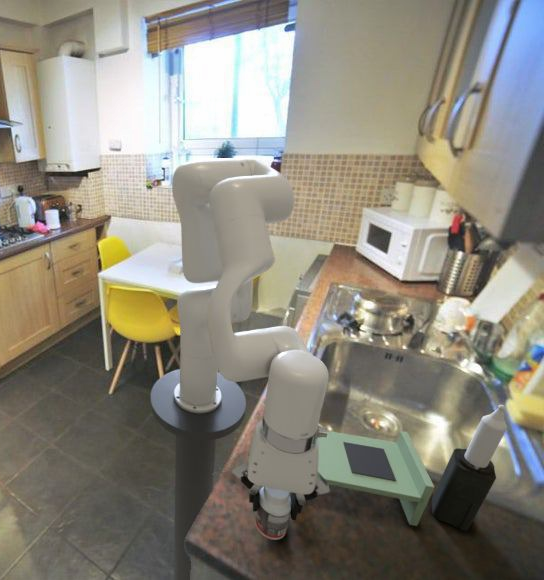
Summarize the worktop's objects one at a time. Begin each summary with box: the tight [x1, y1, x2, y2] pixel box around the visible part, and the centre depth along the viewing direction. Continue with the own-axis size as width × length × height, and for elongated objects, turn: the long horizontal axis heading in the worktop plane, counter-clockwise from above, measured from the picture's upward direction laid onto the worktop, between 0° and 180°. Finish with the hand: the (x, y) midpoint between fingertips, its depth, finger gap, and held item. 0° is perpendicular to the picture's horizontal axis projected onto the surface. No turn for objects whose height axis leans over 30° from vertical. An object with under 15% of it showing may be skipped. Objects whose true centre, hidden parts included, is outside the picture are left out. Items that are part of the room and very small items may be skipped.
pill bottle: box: [254, 486, 292, 541], centre depth 62 cm, size 5×5×10 cm
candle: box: [431, 404, 508, 531], centre depth 60 cm, size 5×5×25 cm
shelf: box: [289, 430, 436, 527], centre depth 69 cm, size 12×21×10 cm, turn 75°
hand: (273, 507), depth 62 cm, fingers closed on pill bottle, 5 cm apart
